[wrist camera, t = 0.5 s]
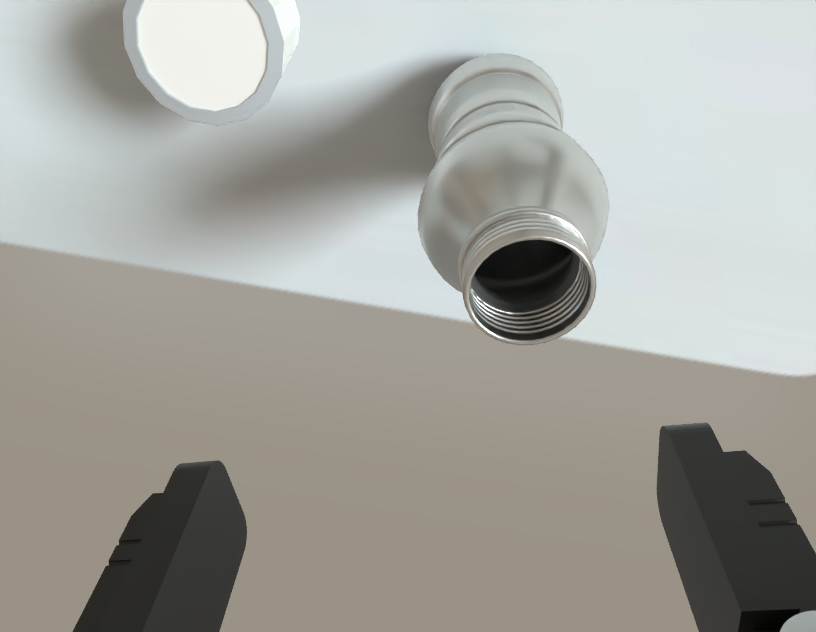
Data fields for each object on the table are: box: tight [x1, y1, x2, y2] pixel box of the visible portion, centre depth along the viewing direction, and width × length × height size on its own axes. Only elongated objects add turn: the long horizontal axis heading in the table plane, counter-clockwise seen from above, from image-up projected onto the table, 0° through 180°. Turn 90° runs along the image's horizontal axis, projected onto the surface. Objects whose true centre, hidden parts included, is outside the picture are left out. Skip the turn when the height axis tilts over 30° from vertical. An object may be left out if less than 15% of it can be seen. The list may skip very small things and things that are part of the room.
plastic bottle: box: [418, 53, 609, 345], centre depth 27 cm, size 6×7×20 cm
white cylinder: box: [122, 0, 300, 126], centre depth 31 cm, size 7×7×7 cm
